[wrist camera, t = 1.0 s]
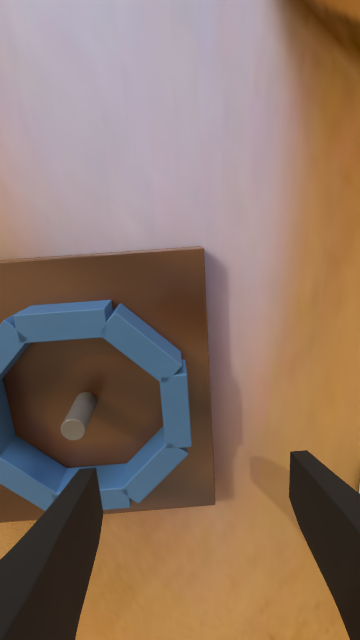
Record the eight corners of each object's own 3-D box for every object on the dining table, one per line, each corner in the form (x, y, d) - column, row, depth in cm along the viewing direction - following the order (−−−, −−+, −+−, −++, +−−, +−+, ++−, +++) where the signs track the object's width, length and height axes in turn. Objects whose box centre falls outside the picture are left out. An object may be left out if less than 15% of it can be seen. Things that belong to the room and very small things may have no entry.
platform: (212, 487, 22) (222, 546, 18) (4, 504, 22) (-34, 568, 18) (200, 246, 18) (210, 251, 14) (-59, 264, 18) (-128, 274, 14)
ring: (193, 476, 20) (195, 503, 18) (6, 491, 20) (-12, 520, 18) (180, 294, 17) (182, 302, 15) (-41, 310, 17) (-68, 321, 15)
